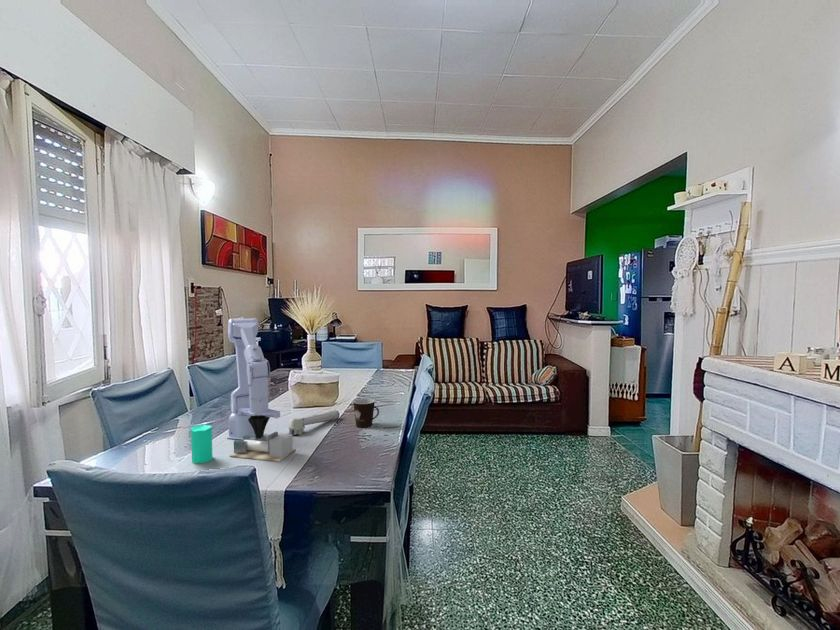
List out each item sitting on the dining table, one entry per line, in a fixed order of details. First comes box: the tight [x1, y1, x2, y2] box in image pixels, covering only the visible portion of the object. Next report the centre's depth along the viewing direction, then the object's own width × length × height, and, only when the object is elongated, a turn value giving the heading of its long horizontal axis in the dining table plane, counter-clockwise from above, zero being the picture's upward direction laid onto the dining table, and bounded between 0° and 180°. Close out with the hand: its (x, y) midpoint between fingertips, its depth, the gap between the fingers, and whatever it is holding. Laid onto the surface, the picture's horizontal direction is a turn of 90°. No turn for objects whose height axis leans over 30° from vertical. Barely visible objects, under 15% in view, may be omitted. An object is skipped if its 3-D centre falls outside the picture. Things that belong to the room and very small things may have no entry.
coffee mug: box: [352, 397, 380, 429], centre depth 163 cm, size 12×9×10 cm
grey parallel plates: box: [233, 435, 258, 454], centre depth 137 cm, size 4×6×4 cm
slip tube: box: [244, 431, 279, 454], centre depth 135 cm, size 14×4×6 cm, turn 76°
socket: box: [269, 433, 294, 458], centre depth 134 cm, size 4×6×6 cm
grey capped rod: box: [288, 409, 340, 436], centre depth 163 cm, size 5×7×25 cm
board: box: [229, 448, 297, 463], centre depth 136 cm, size 18×10×1 cm, turn 76°
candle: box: [190, 422, 214, 464], centre depth 130 cm, size 6×6×12 cm
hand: (259, 437), depth 136 cm, fingers closed
